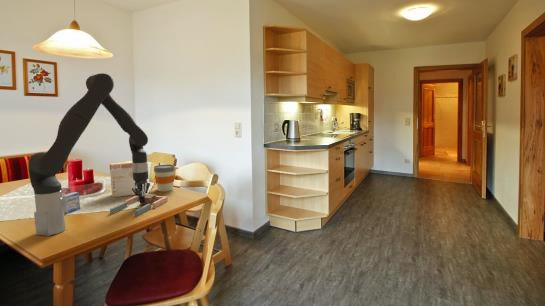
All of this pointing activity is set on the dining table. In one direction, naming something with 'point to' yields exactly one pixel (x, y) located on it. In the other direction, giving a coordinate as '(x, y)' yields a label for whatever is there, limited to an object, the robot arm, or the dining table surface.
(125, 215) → the dining table surface
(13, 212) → the dining table surface
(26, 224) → the dining table surface
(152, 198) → the walnut block
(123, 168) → the coffeecake box
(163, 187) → the reusable coffee cup
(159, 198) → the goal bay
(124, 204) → the channel
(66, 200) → the medicine box
